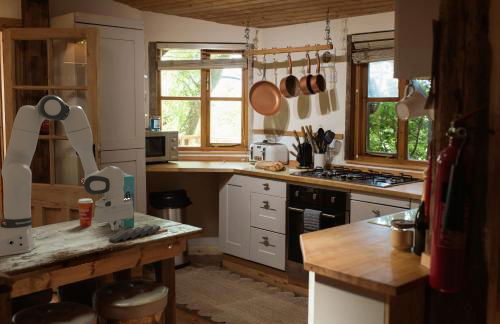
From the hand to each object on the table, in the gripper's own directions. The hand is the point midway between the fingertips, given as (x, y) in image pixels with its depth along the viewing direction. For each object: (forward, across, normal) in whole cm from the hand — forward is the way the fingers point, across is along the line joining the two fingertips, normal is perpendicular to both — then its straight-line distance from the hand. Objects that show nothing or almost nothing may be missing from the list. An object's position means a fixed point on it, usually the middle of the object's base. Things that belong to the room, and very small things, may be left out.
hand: (114, 229), depth 260 cm
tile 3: (+5, -8, 0) cm, 10 cm away
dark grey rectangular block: (+5, +2, 0) cm, 5 cm away
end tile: (+6, -23, 0) cm, 24 cm away
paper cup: (+6, -9, -38) cm, 40 cm away
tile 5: (+5, -18, 0) cm, 19 cm away
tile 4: (+5, -14, 0) cm, 14 cm away
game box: (+6, -26, -29) cm, 39 cm away
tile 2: (+5, -3, 0) cm, 6 cm away
